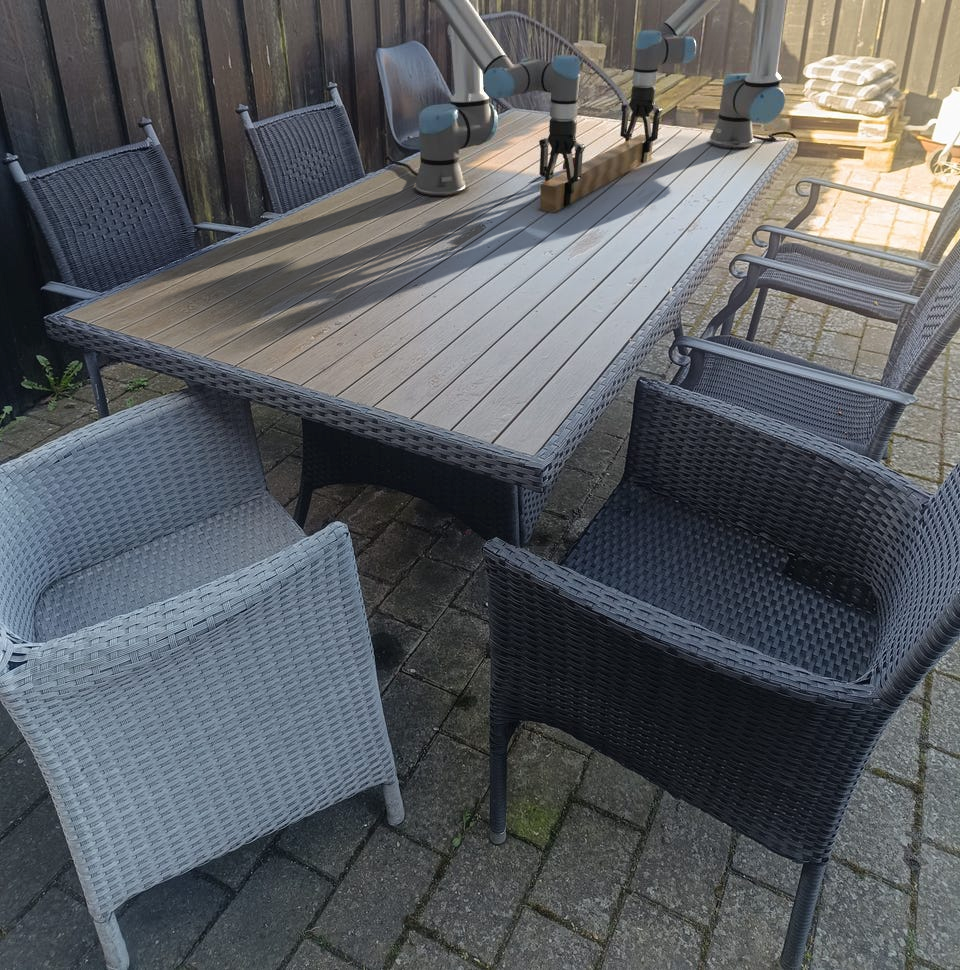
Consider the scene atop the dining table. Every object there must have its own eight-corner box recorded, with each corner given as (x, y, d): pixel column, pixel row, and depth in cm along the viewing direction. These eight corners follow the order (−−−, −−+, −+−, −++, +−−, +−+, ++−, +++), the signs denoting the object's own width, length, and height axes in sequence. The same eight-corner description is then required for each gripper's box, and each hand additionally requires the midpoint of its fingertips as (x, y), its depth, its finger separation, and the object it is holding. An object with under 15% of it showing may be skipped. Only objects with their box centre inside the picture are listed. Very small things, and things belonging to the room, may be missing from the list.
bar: (554, 212, 241) (555, 186, 236) (539, 209, 243) (540, 184, 238) (651, 158, 287) (653, 136, 283) (638, 156, 289) (640, 134, 285)
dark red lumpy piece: (577, 153, 276) (586, 160, 270) (577, 167, 278) (585, 173, 272) (561, 155, 275) (569, 162, 269) (561, 168, 277) (569, 175, 271)
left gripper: (598, 119, 231) (591, 205, 245) (541, 111, 239) (538, 194, 253) (586, 125, 226) (579, 212, 240) (528, 116, 234) (525, 201, 247)
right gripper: (674, 86, 268) (665, 162, 282) (623, 80, 276) (616, 154, 290) (665, 90, 263) (656, 167, 277) (613, 84, 271) (607, 159, 285)
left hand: (558, 202), depth 246 cm, fingers closed on bar, 5 cm apart
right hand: (636, 160), depth 283 cm, fingers closed on bar, 5 cm apart
